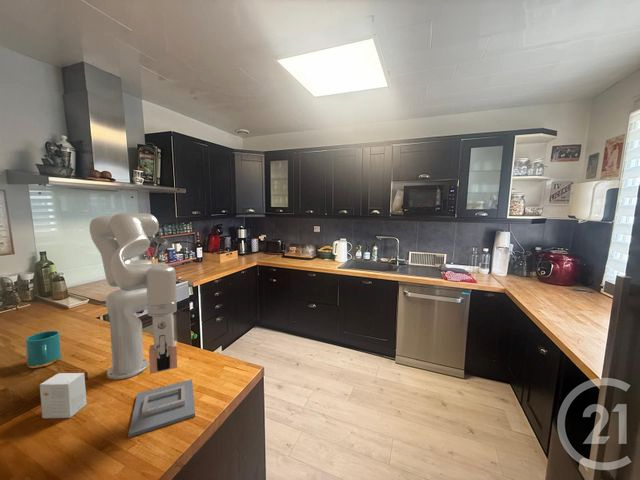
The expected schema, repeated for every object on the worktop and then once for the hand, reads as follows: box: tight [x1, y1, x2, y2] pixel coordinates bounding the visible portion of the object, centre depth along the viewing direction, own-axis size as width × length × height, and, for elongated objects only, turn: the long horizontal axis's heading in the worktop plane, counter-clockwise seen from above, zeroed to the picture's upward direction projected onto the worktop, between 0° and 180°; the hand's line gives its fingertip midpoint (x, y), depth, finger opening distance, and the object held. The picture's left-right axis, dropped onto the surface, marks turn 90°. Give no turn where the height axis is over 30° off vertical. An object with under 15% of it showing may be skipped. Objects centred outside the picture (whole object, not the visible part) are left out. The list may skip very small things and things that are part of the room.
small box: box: [39, 372, 88, 419], centre depth 76 cm, size 8×6×10 cm
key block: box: [148, 340, 178, 375], centre depth 78 cm, size 7×4×7 cm, turn 119°
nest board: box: [127, 378, 196, 439], centre depth 79 cm, size 18×16×2 cm
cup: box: [25, 330, 62, 367], centre depth 99 cm, size 9×12×11 cm
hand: (164, 364), depth 78 cm, fingers closed on key block, 4 cm apart
